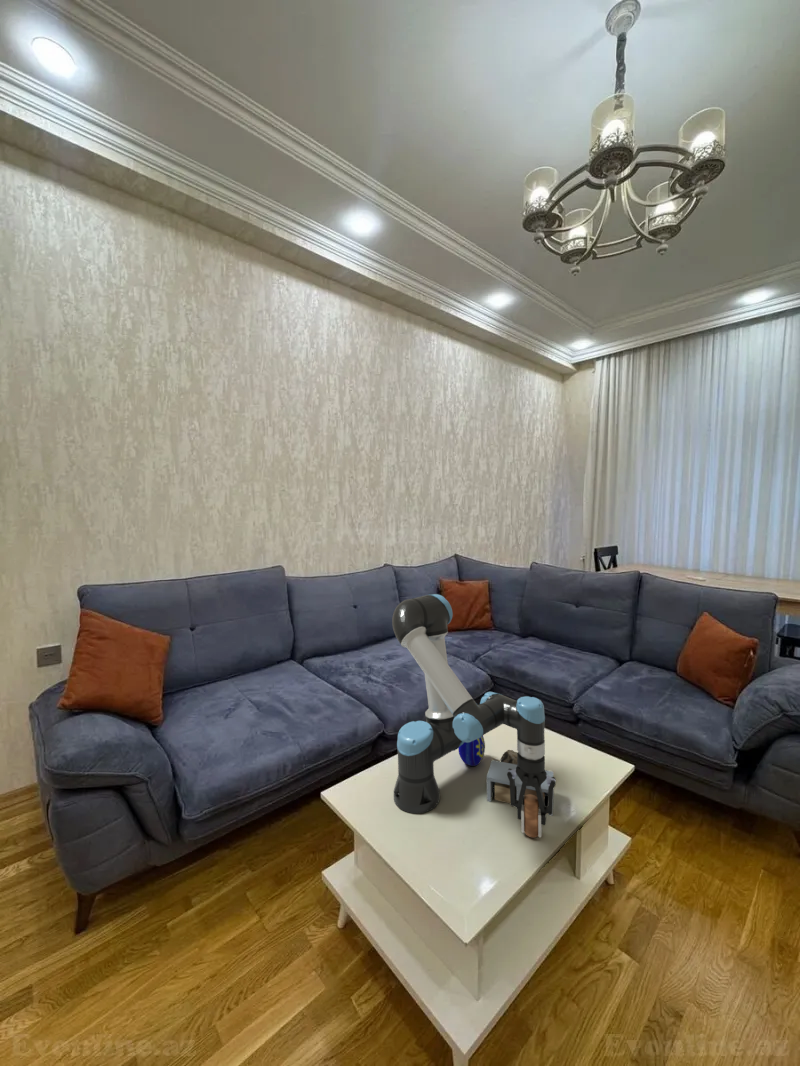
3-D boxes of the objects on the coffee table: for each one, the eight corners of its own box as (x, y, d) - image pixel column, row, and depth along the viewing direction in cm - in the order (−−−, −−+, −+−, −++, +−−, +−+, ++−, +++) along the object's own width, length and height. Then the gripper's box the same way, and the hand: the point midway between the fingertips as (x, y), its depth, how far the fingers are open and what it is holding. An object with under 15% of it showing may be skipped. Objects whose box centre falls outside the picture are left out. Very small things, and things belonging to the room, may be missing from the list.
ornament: (477, 774, 152) (477, 733, 152) (454, 766, 157) (453, 727, 156) (488, 758, 162) (488, 720, 161) (466, 751, 167) (465, 714, 166)
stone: (522, 786, 145) (523, 766, 145) (496, 769, 155) (496, 750, 155) (536, 780, 149) (537, 760, 149) (510, 763, 159) (510, 744, 159)
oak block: (494, 800, 139) (494, 785, 139) (497, 788, 145) (497, 774, 144) (513, 804, 137) (513, 789, 137) (516, 792, 143) (515, 778, 142)
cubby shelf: (486, 801, 139) (486, 777, 138) (492, 782, 148) (491, 759, 147) (552, 815, 131) (552, 790, 131) (553, 795, 141) (553, 771, 140)
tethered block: (520, 834, 123) (519, 801, 122) (526, 791, 141) (525, 762, 141) (542, 839, 121) (541, 806, 120) (545, 795, 139) (545, 766, 138)
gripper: (498, 755, 122) (499, 833, 123) (562, 766, 116) (562, 849, 117) (502, 741, 129) (503, 815, 130) (562, 751, 123) (563, 829, 124)
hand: (531, 831), depth 124 cm, fingers closed on tethered block, 4 cm apart
